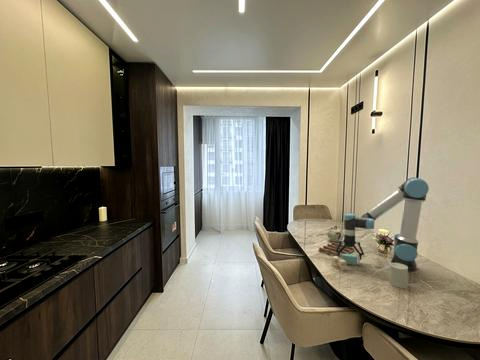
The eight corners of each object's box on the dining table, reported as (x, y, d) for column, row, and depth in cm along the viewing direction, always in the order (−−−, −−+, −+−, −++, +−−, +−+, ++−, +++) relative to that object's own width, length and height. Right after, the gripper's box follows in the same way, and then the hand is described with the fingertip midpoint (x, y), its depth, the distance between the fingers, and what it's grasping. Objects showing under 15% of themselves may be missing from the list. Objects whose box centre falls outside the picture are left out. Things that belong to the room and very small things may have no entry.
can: (390, 278, 144) (390, 260, 143) (408, 283, 138) (408, 264, 137) (388, 284, 137) (389, 265, 136) (407, 289, 131) (407, 269, 130)
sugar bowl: (348, 244, 208) (348, 228, 208) (332, 244, 208) (332, 228, 207) (338, 237, 228) (338, 222, 227) (323, 237, 228) (324, 223, 227)
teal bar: (356, 262, 169) (356, 255, 168) (357, 265, 165) (357, 257, 164) (342, 261, 172) (342, 253, 172) (342, 263, 168) (342, 255, 168)
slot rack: (354, 250, 192) (354, 247, 191) (341, 258, 177) (341, 254, 176) (332, 244, 207) (332, 241, 207) (318, 251, 192) (318, 248, 192)
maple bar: (346, 269, 158) (346, 261, 158) (342, 270, 157) (342, 262, 157) (336, 263, 168) (336, 255, 167) (331, 264, 167) (331, 256, 166)
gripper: (367, 234, 166) (366, 262, 168) (332, 231, 175) (331, 258, 176) (369, 237, 159) (368, 266, 161) (332, 234, 168) (332, 262, 169)
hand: (349, 262), depth 168 cm, fingers open, 12 cm apart
